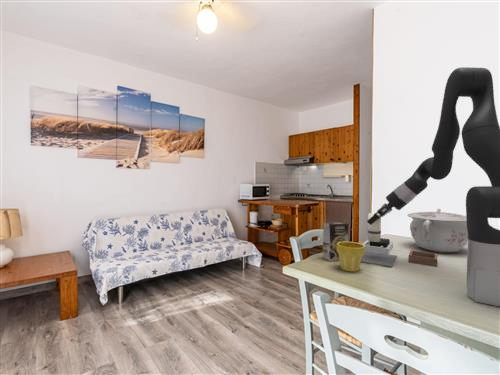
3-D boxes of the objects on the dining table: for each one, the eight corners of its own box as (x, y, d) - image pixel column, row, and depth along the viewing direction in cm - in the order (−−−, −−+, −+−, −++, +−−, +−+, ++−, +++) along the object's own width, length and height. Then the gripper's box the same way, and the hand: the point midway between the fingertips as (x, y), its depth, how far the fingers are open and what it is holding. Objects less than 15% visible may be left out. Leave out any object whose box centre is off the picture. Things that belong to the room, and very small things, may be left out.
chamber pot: (446, 243, 148) (446, 205, 147) (489, 257, 120) (490, 211, 119) (395, 242, 148) (395, 205, 147) (426, 257, 121) (427, 211, 120)
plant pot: (369, 269, 104) (369, 244, 104) (356, 275, 97) (356, 249, 97) (344, 263, 112) (345, 240, 112) (331, 268, 105) (331, 244, 105)
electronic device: (369, 251, 132) (369, 241, 131) (373, 246, 140) (373, 237, 140) (386, 253, 127) (386, 243, 127) (389, 248, 136) (389, 239, 136)
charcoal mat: (391, 267, 106) (391, 266, 106) (349, 260, 115) (349, 259, 115) (396, 256, 121) (396, 255, 121) (359, 251, 130) (359, 250, 130)
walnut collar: (437, 266, 107) (437, 259, 107) (408, 262, 113) (408, 255, 113) (437, 260, 115) (437, 253, 115) (410, 256, 121) (410, 250, 121)
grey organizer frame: (388, 254, 126) (388, 248, 125) (361, 250, 132) (361, 245, 132) (392, 247, 139) (393, 242, 138) (368, 243, 146) (368, 239, 145)
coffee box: (330, 261, 114) (330, 224, 113) (322, 257, 120) (322, 222, 119) (348, 260, 116) (349, 223, 116) (340, 256, 122) (340, 221, 122)
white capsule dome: (379, 242, 114) (380, 214, 114) (366, 240, 117) (366, 214, 117) (381, 240, 119) (382, 213, 118) (369, 238, 122) (369, 212, 121)
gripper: (396, 189, 119) (367, 213, 126) (391, 190, 107) (360, 217, 114) (409, 201, 116) (379, 226, 123) (406, 204, 104) (373, 231, 112)
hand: (370, 222), depth 119 cm, fingers closed on white capsule dome, 5 cm apart
